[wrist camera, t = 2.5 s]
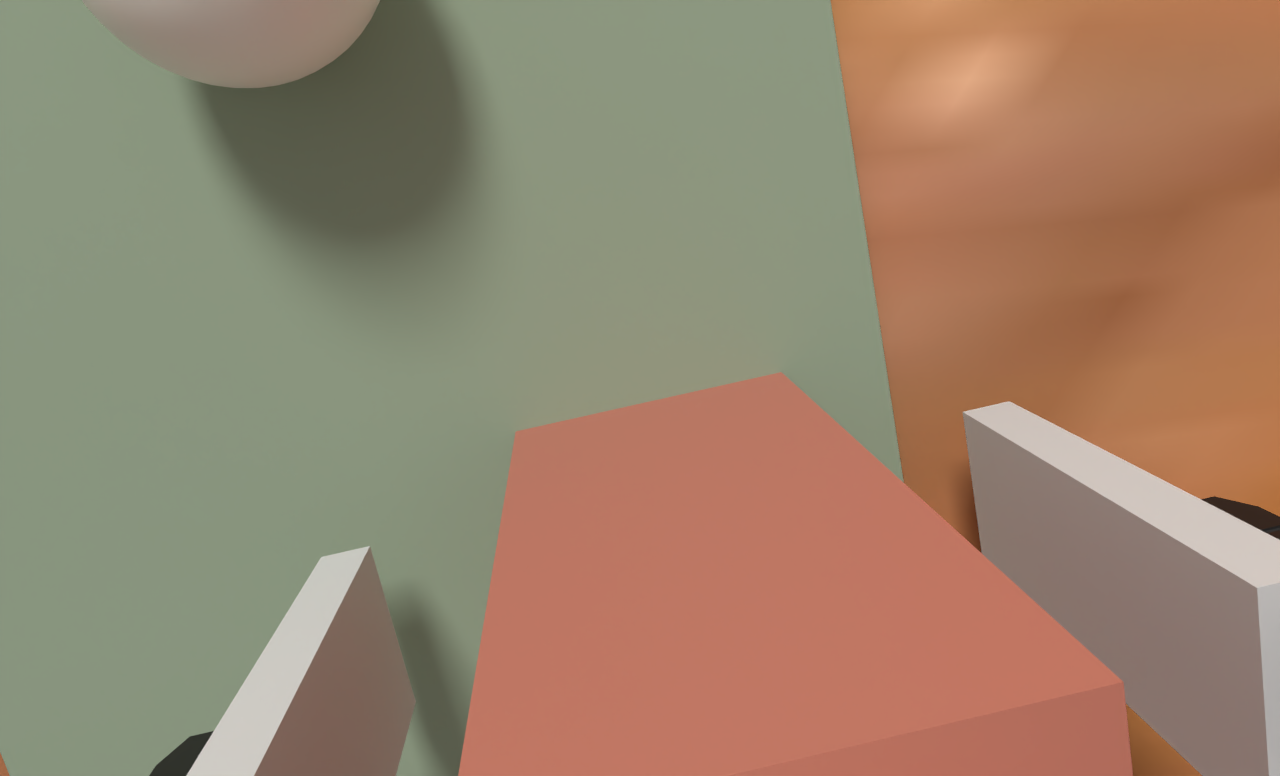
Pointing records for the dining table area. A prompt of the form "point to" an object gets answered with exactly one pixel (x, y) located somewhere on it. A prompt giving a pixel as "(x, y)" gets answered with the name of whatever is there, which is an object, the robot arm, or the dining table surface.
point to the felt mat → (377, 323)
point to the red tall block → (760, 613)
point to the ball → (237, 36)
